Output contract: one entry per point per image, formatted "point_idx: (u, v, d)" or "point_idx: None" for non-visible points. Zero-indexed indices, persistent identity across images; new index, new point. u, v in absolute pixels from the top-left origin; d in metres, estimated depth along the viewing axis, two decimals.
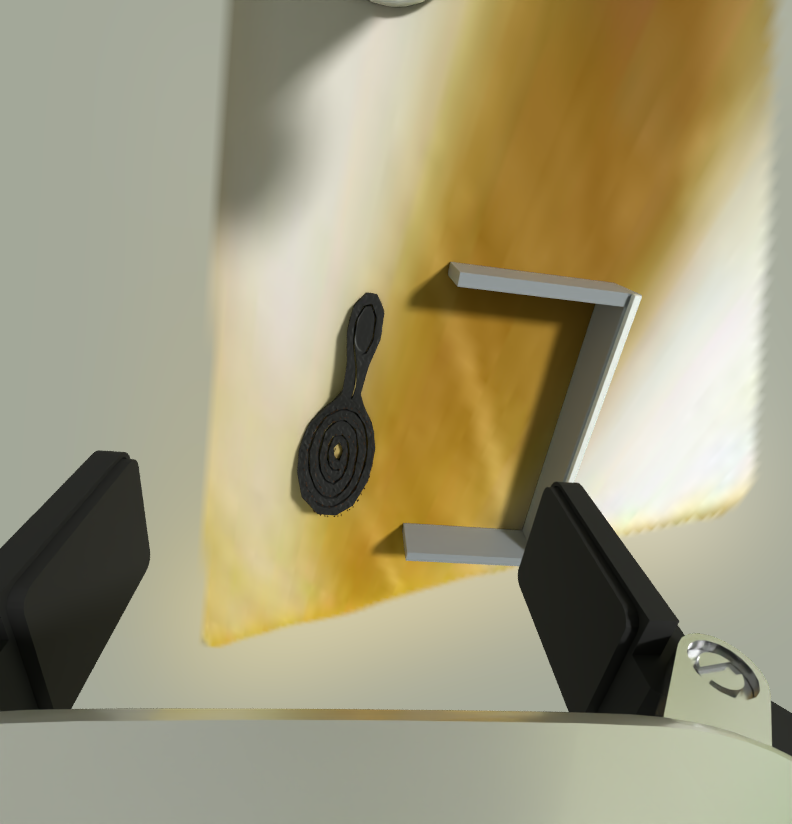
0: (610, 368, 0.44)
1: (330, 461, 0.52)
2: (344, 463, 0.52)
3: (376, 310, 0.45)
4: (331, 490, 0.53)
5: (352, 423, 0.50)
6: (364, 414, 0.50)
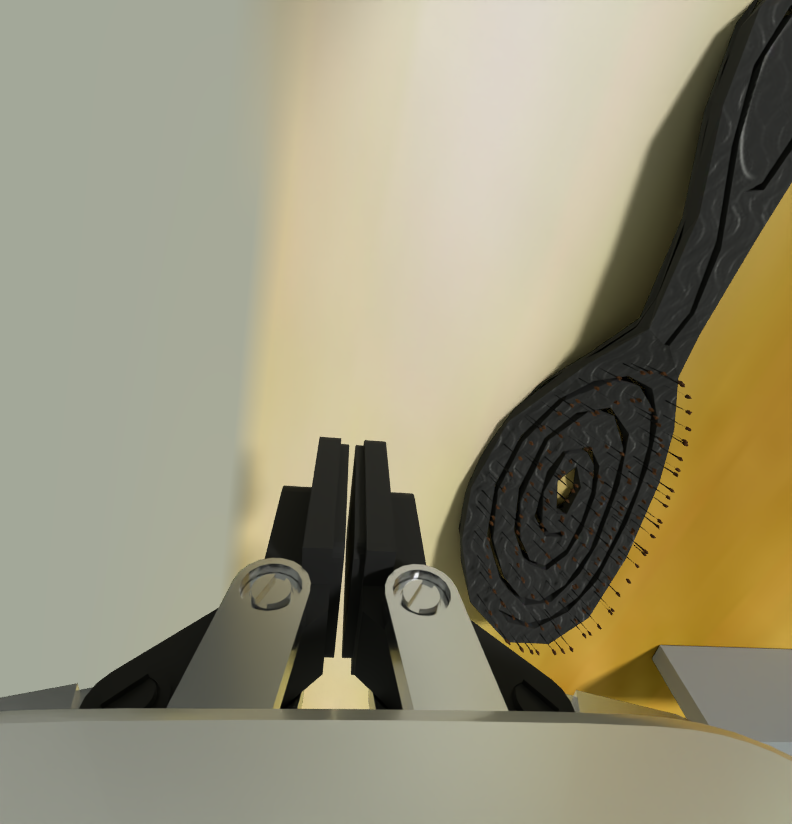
0: None
1: (545, 513, 0.21)
2: (578, 518, 0.21)
3: None
4: (540, 584, 0.21)
5: (626, 417, 0.19)
6: (671, 394, 0.18)
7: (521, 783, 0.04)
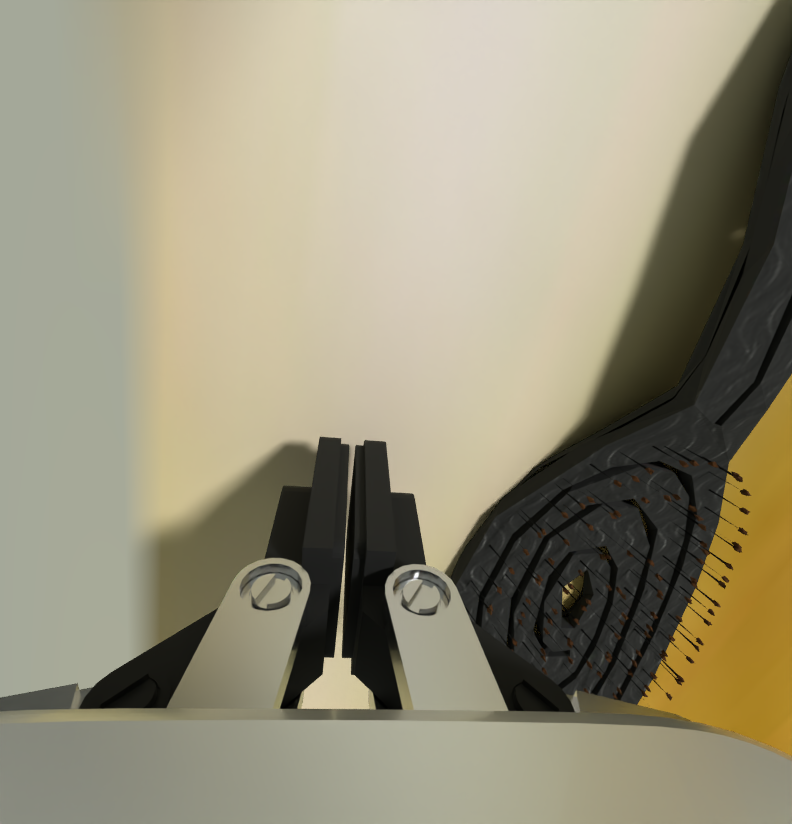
0: None
1: (546, 628, 0.16)
2: (589, 632, 0.16)
3: None
4: None
5: (654, 510, 0.14)
6: (717, 482, 0.13)
7: (521, 783, 0.04)
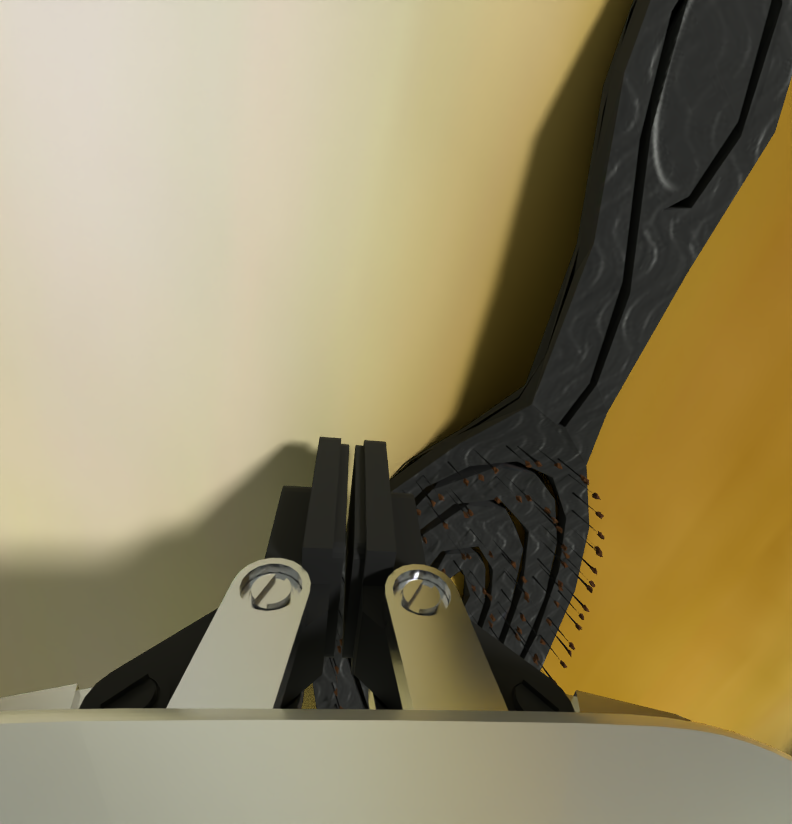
0: None
1: None
2: None
3: None
4: None
5: (522, 511, 0.14)
6: (579, 484, 0.13)
7: (521, 783, 0.04)
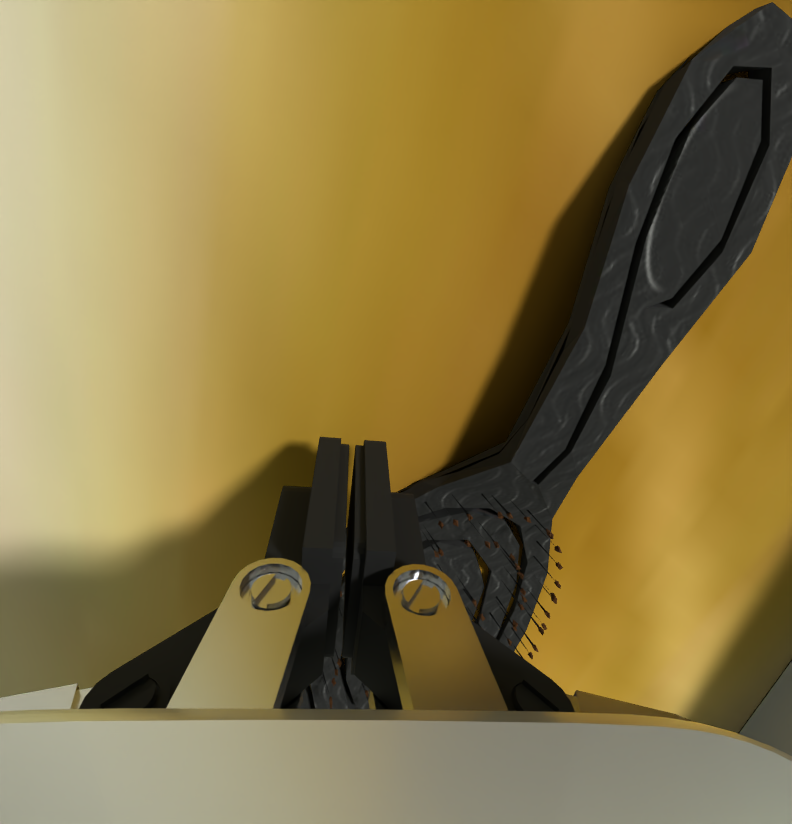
0: None
1: None
2: None
3: (778, 107, 0.09)
4: None
5: (488, 553, 0.14)
6: (543, 535, 0.14)
7: (521, 783, 0.04)
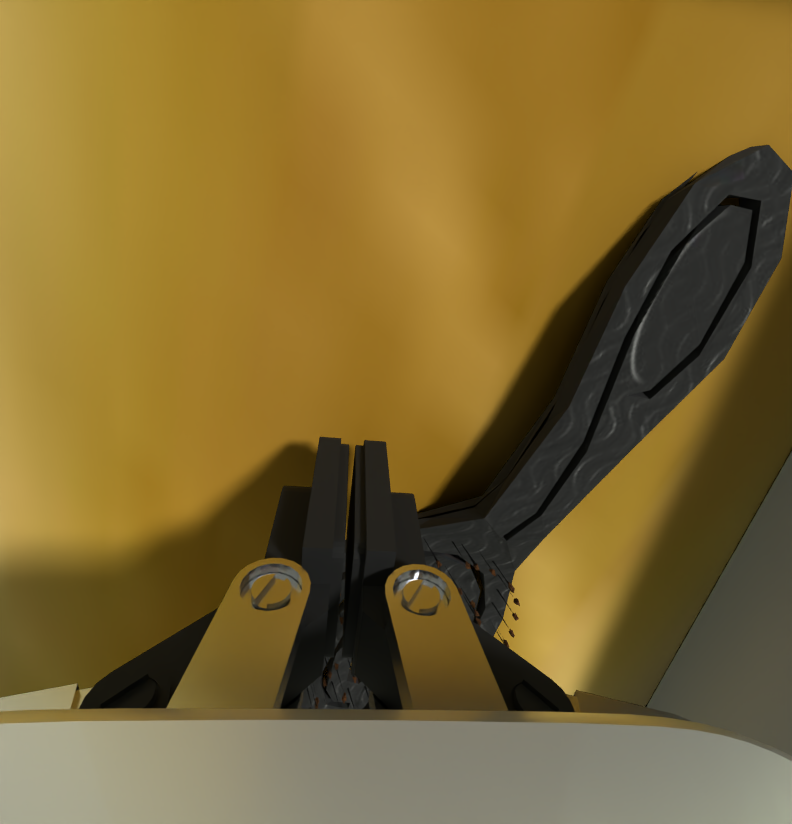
0: None
1: (332, 678, 0.16)
2: None
3: (762, 235, 0.10)
4: None
5: None
6: (504, 584, 0.14)
7: (521, 783, 0.04)
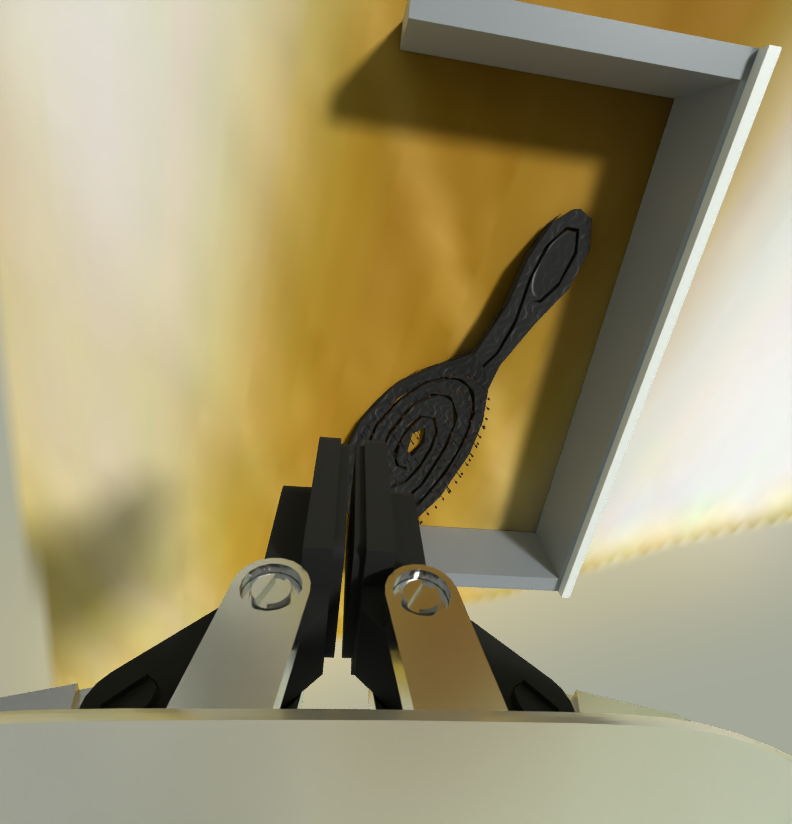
0: (706, 215, 0.23)
1: (399, 452, 0.33)
2: (418, 461, 0.34)
3: (580, 241, 0.28)
4: None
5: (458, 405, 0.32)
6: (483, 397, 0.32)
7: (521, 783, 0.04)
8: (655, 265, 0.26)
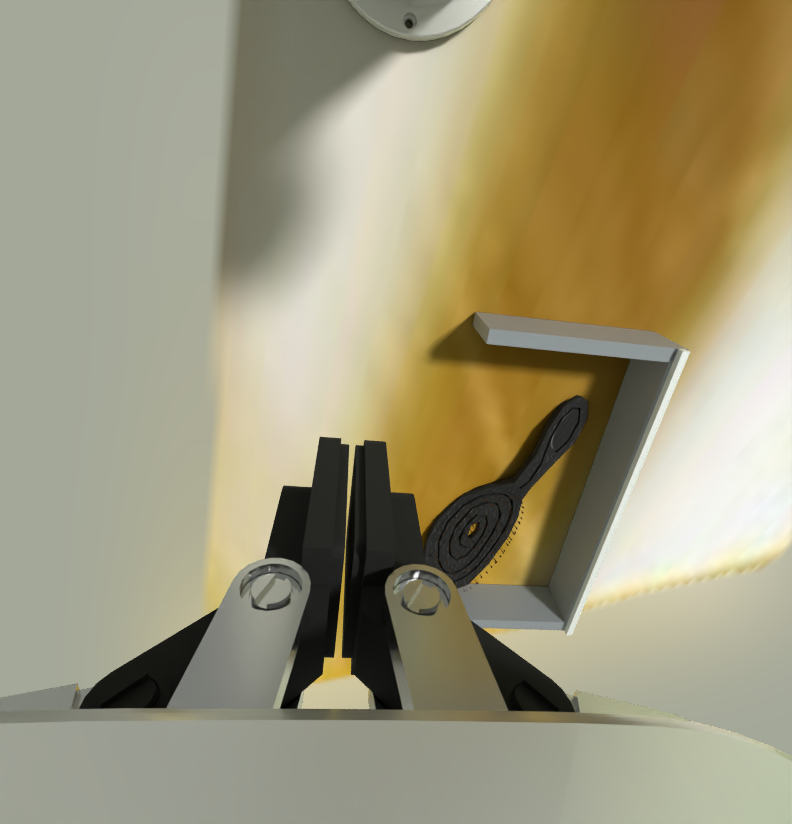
0: (652, 427, 0.40)
1: (462, 537, 0.50)
2: (474, 542, 0.51)
3: (581, 415, 0.44)
4: (452, 566, 0.51)
5: (502, 508, 0.49)
6: (519, 504, 0.48)
7: (521, 783, 0.04)
8: (625, 442, 0.43)
